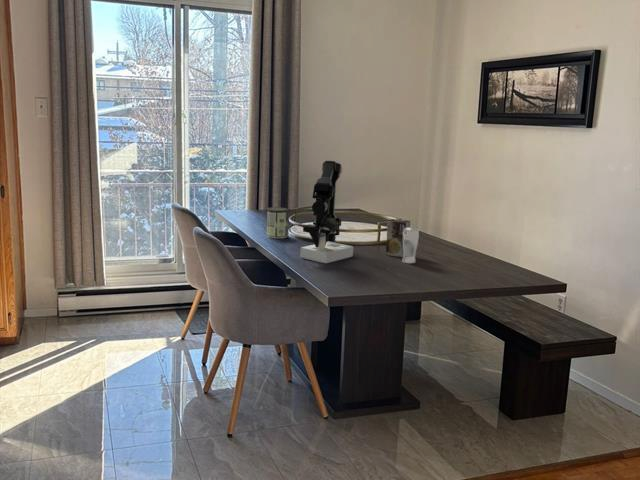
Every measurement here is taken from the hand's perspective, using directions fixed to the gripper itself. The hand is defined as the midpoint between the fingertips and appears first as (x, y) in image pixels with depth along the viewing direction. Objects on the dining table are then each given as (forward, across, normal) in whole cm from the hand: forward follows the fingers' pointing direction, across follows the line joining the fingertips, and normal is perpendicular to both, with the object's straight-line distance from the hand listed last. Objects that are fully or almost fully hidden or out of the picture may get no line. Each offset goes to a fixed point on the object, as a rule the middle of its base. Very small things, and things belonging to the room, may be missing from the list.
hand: (320, 246), depth 286 cm
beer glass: (+6, +25, -30) cm, 39 cm away
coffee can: (+6, +21, +44) cm, 49 cm away
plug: (+4, 0, 0) cm, 5 cm away
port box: (+6, +5, 0) cm, 7 cm away
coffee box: (+6, +33, -19) cm, 39 cm away
